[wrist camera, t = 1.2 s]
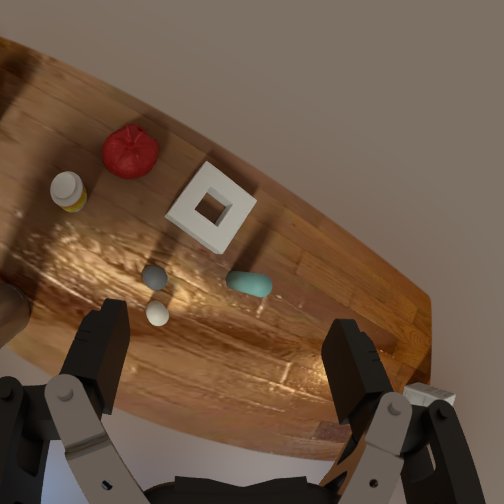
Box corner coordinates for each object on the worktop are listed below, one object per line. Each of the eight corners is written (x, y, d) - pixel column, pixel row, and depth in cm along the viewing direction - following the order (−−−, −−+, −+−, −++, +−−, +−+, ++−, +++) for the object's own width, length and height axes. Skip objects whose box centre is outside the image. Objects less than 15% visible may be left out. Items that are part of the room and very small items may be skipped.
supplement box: (412, 405, 86) (448, 419, 71) (397, 410, 82) (435, 426, 67) (419, 381, 87) (457, 393, 71) (404, 385, 83) (444, 399, 68)
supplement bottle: (93, 197, 48) (88, 185, 39) (72, 219, 46) (61, 212, 37) (75, 176, 46) (66, 159, 37) (53, 197, 45) (39, 185, 35)
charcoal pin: (154, 288, 53) (159, 294, 45) (137, 277, 51) (140, 282, 44) (164, 272, 53) (171, 275, 46) (148, 261, 52) (152, 262, 45)
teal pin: (237, 292, 59) (264, 301, 48) (222, 282, 58) (247, 289, 47) (246, 277, 60) (276, 282, 49) (232, 267, 59) (259, 270, 48)
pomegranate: (149, 187, 52) (155, 175, 44) (97, 178, 48) (93, 164, 40) (160, 138, 53) (168, 118, 44) (111, 128, 49) (110, 107, 40)
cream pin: (158, 323, 53) (161, 329, 48) (141, 313, 52) (143, 318, 47) (168, 307, 54) (172, 312, 49) (151, 296, 52) (154, 300, 48)
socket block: (215, 253, 57) (222, 253, 54) (164, 216, 53) (167, 213, 50) (248, 203, 60) (257, 200, 57) (200, 166, 56) (206, 160, 53)
